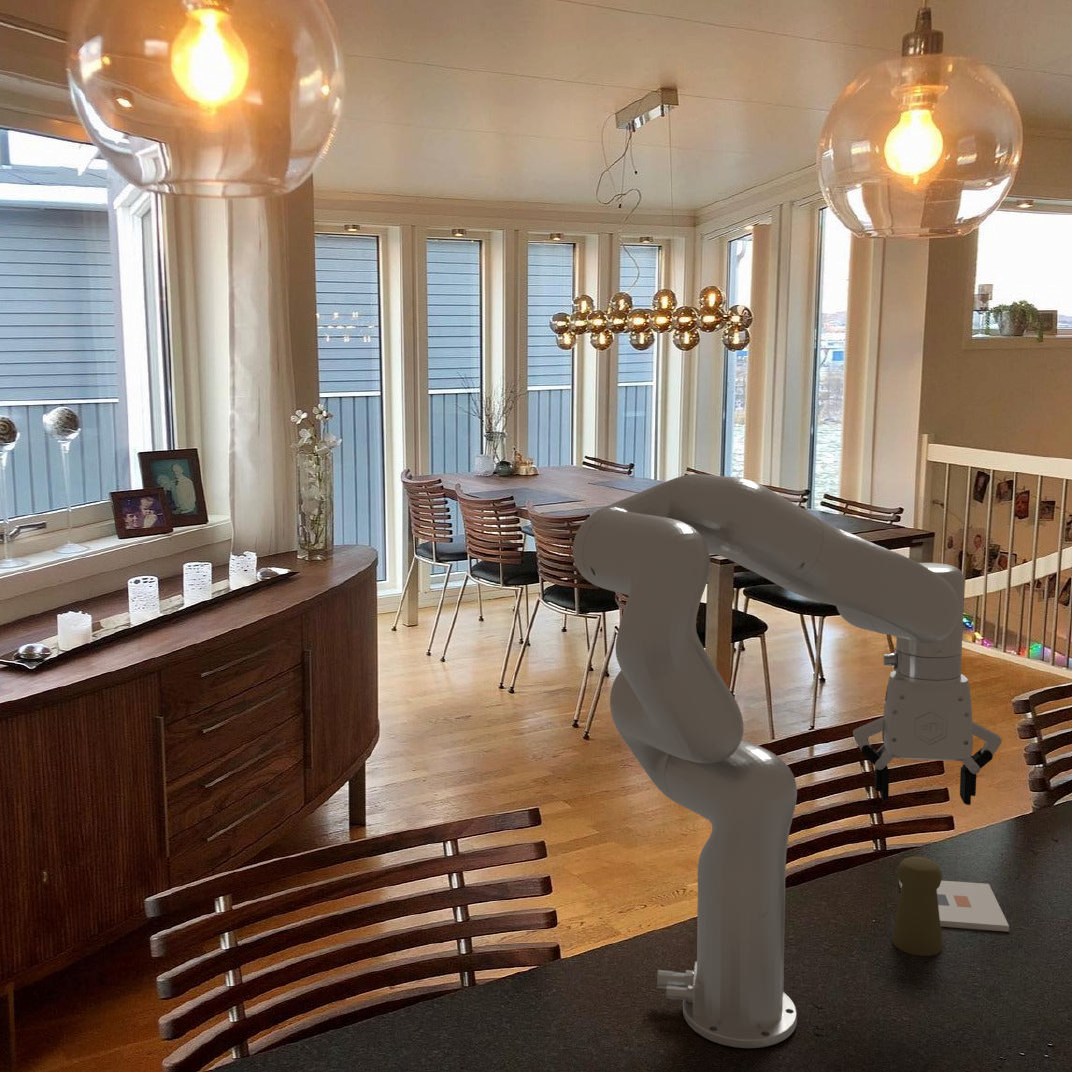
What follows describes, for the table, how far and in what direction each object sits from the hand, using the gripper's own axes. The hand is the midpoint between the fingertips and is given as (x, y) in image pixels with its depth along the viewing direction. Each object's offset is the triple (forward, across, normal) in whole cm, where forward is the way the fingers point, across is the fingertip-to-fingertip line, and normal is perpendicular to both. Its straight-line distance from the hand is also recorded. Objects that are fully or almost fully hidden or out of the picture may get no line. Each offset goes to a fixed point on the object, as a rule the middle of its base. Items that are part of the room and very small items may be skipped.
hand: (924, 798), depth 134 cm
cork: (+19, 0, 0) cm, 19 cm away
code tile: (+19, +6, +11) cm, 23 cm away
